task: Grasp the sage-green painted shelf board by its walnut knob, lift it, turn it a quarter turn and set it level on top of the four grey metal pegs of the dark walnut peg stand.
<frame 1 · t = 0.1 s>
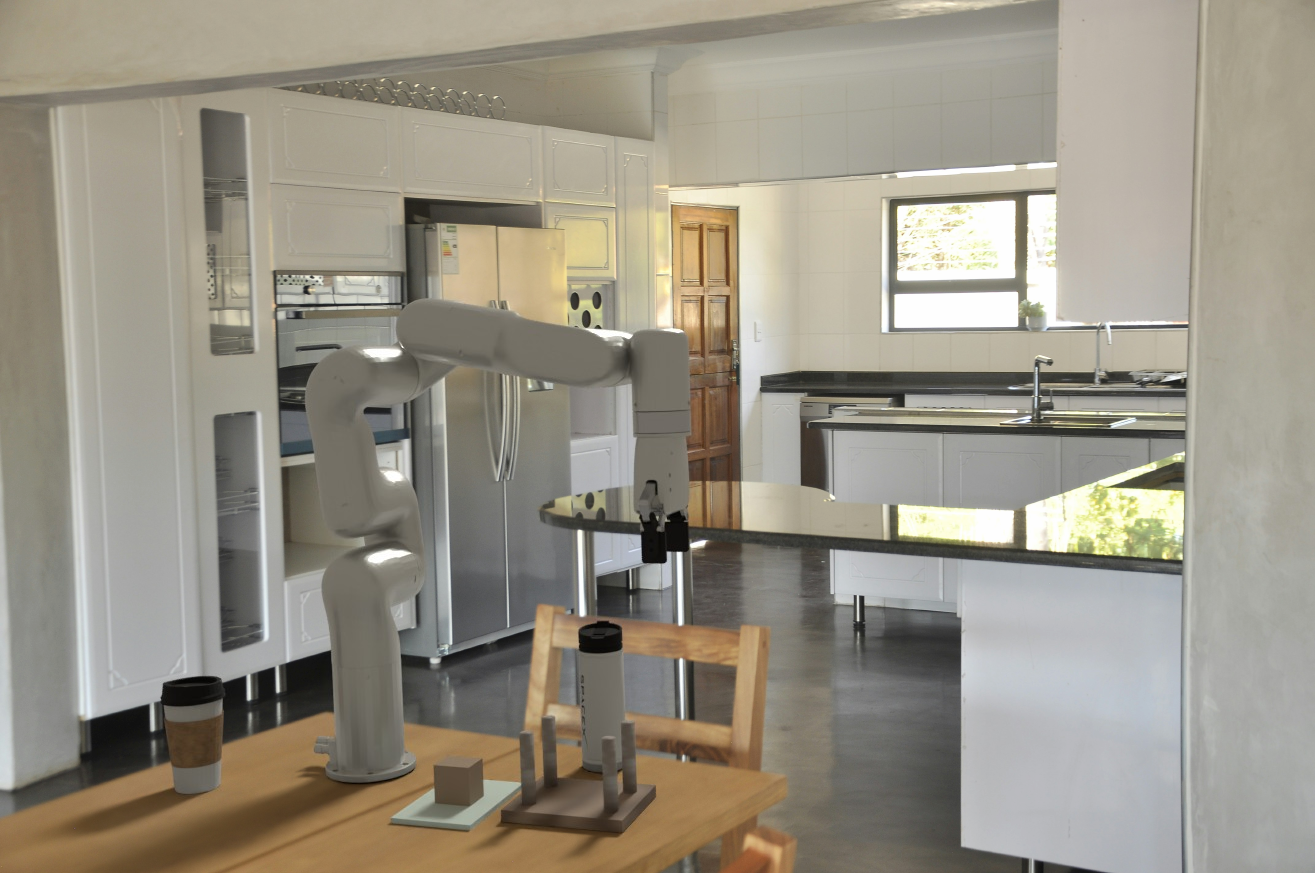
hand: (666, 557, 161), 31 cm above the table, tool pointing down, fingers open, 9 cm apart
coffee cup: (197, 788, 172), on the table
travel mug: (605, 766, 176), on the table
peg stand: (580, 808, 158), on the table
shelf board: (459, 808, 162), on the table
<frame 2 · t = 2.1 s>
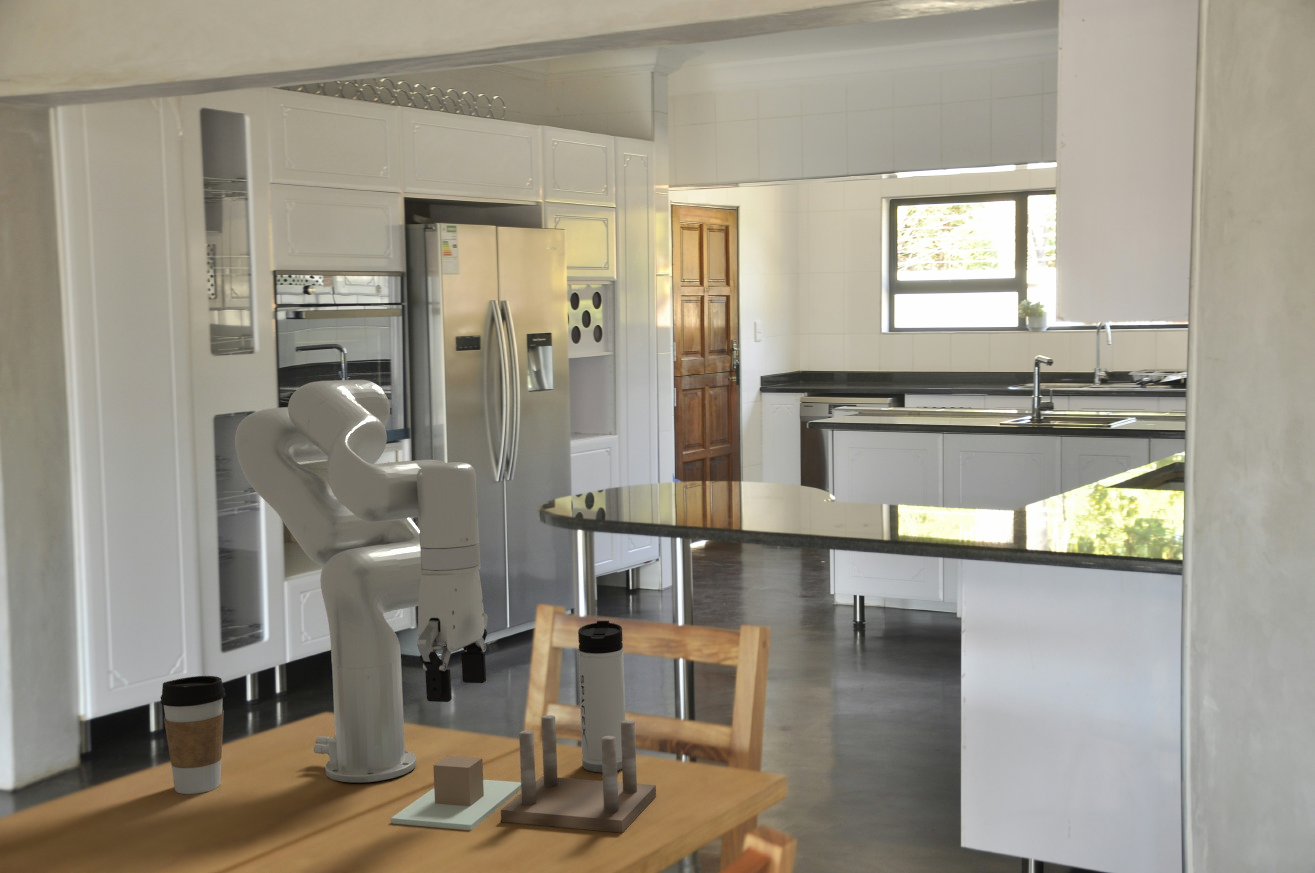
hand: (457, 691, 160), 15 cm above the table, tool pointing down, fingers open, 9 cm apart
nothing on the table moved.
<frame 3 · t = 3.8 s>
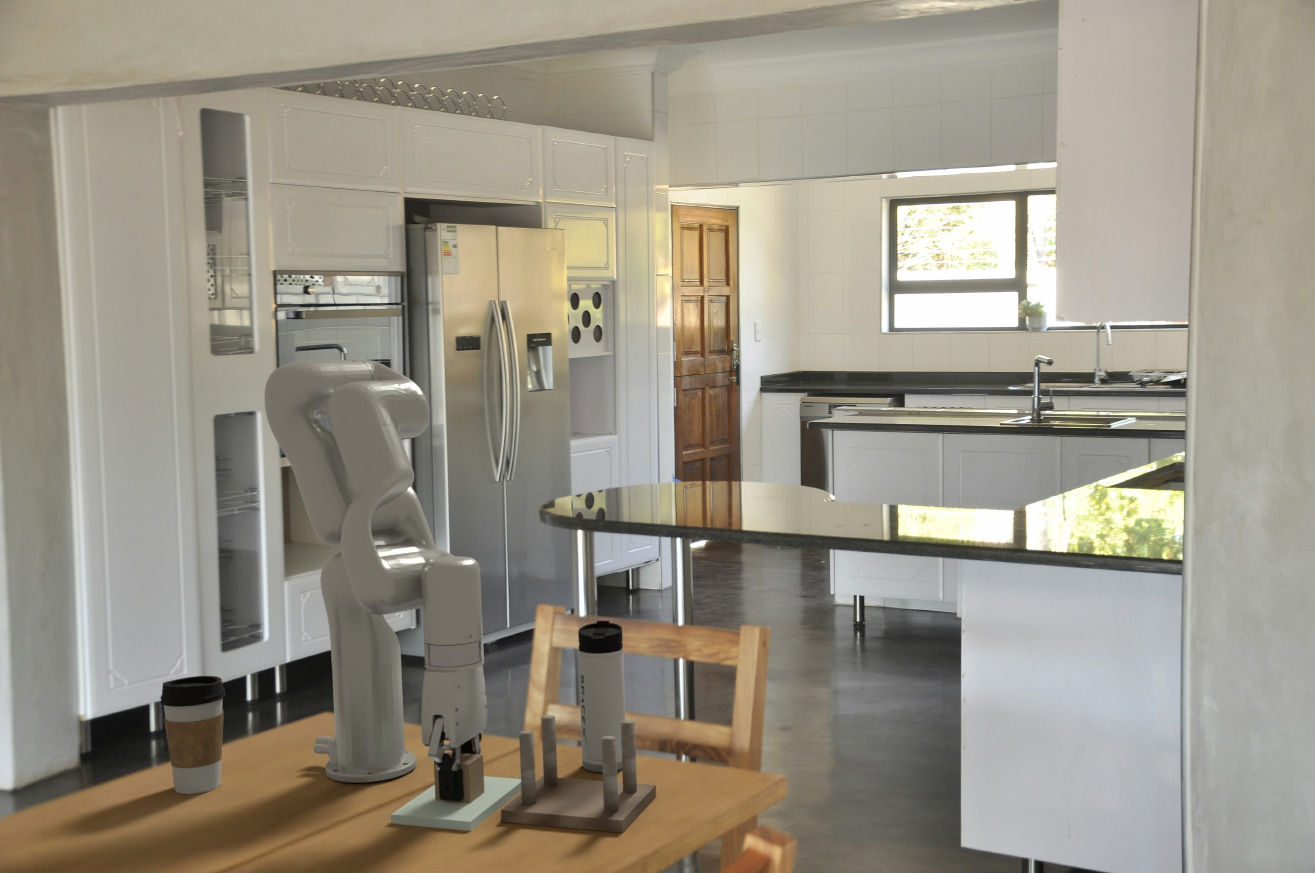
hand: (460, 791, 161), 2 cm above the table, tool pointing down, fingers closed on shelf board, 4 cm apart
shelf board: (460, 805, 161), on the table, touching gripper
everything else where it was.
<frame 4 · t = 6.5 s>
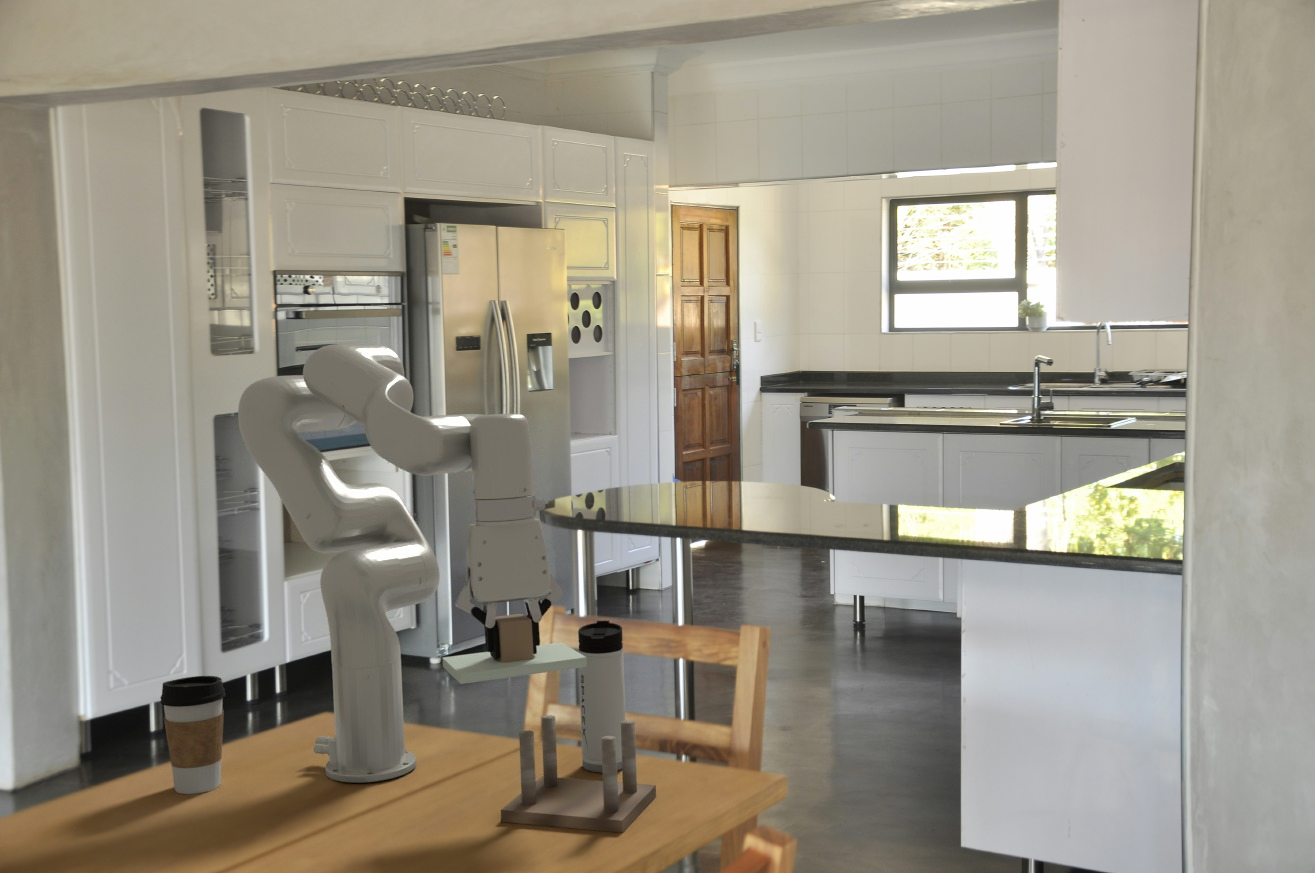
hand: (513, 653, 159), 20 cm above the table, tool pointing down, fingers closed on shelf board, 4 cm apart
shelf board: (513, 666, 159), point 18 cm above the table, touching gripper
everything else where it was.
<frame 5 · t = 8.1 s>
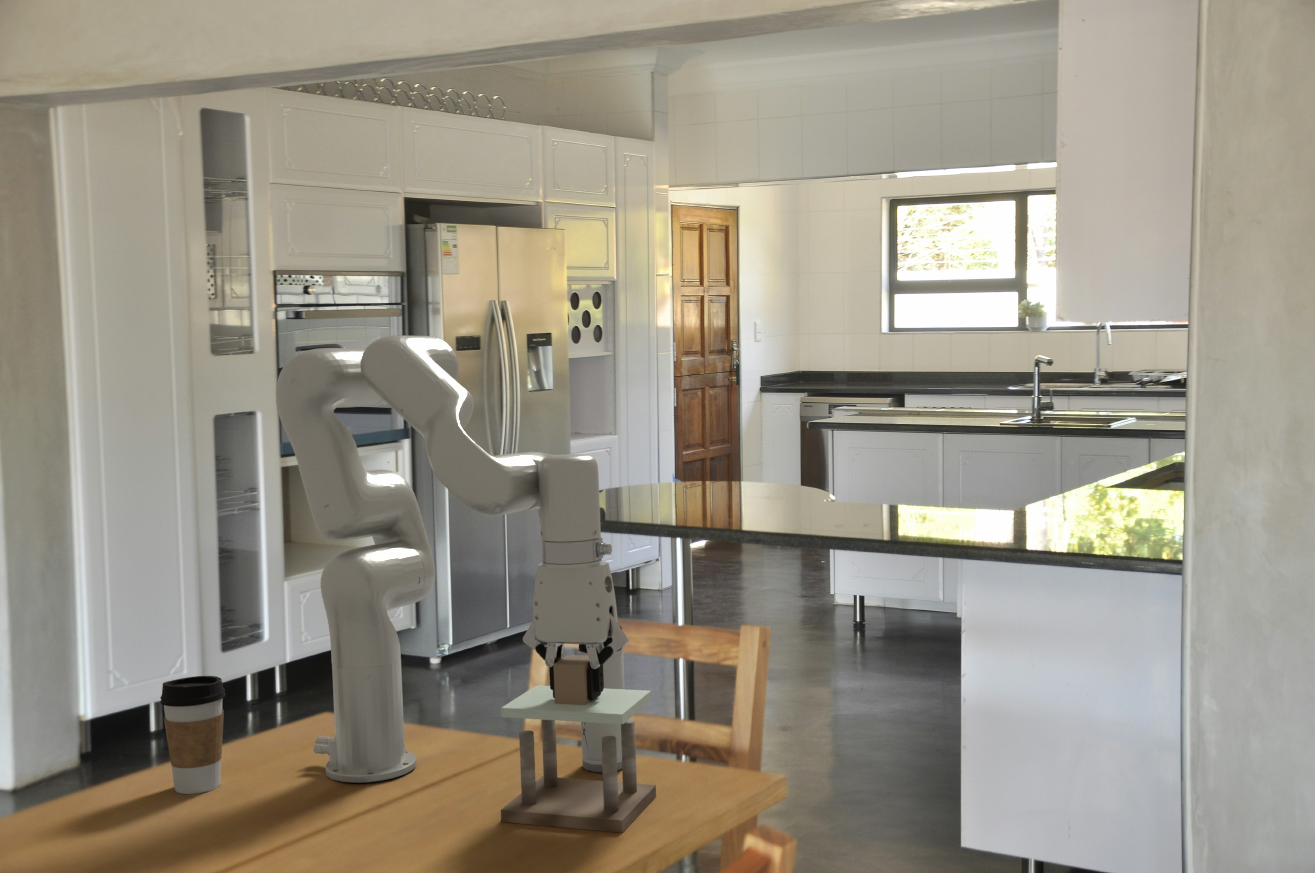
hand: (577, 695, 158), 15 cm above the table, tool pointing down, fingers closed on shelf board, 4 cm apart
shelf board: (577, 708, 158), point 13 cm above the table, touching gripper
everything else where it was.
when the fingers open (13 cm above the table, at t = 9.4 s): shelf board stays where it is, resting on peg stand.
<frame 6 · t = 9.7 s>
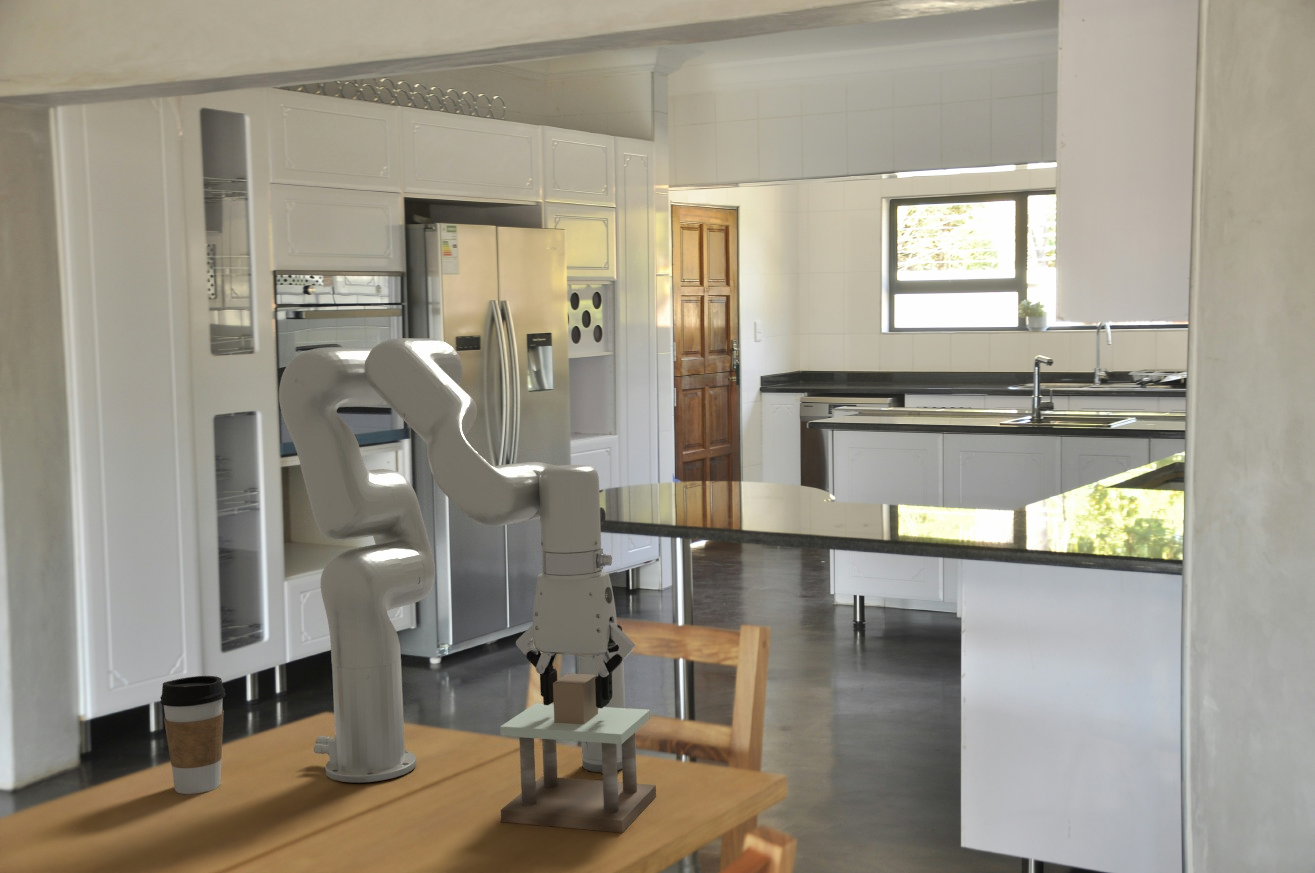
hand: (576, 702, 158), 14 cm above the table, tool pointing down, fingers open, 6 cm apart
shelf board: (576, 727, 158), point 10 cm above the table, touching peg stand
everything else where it was.
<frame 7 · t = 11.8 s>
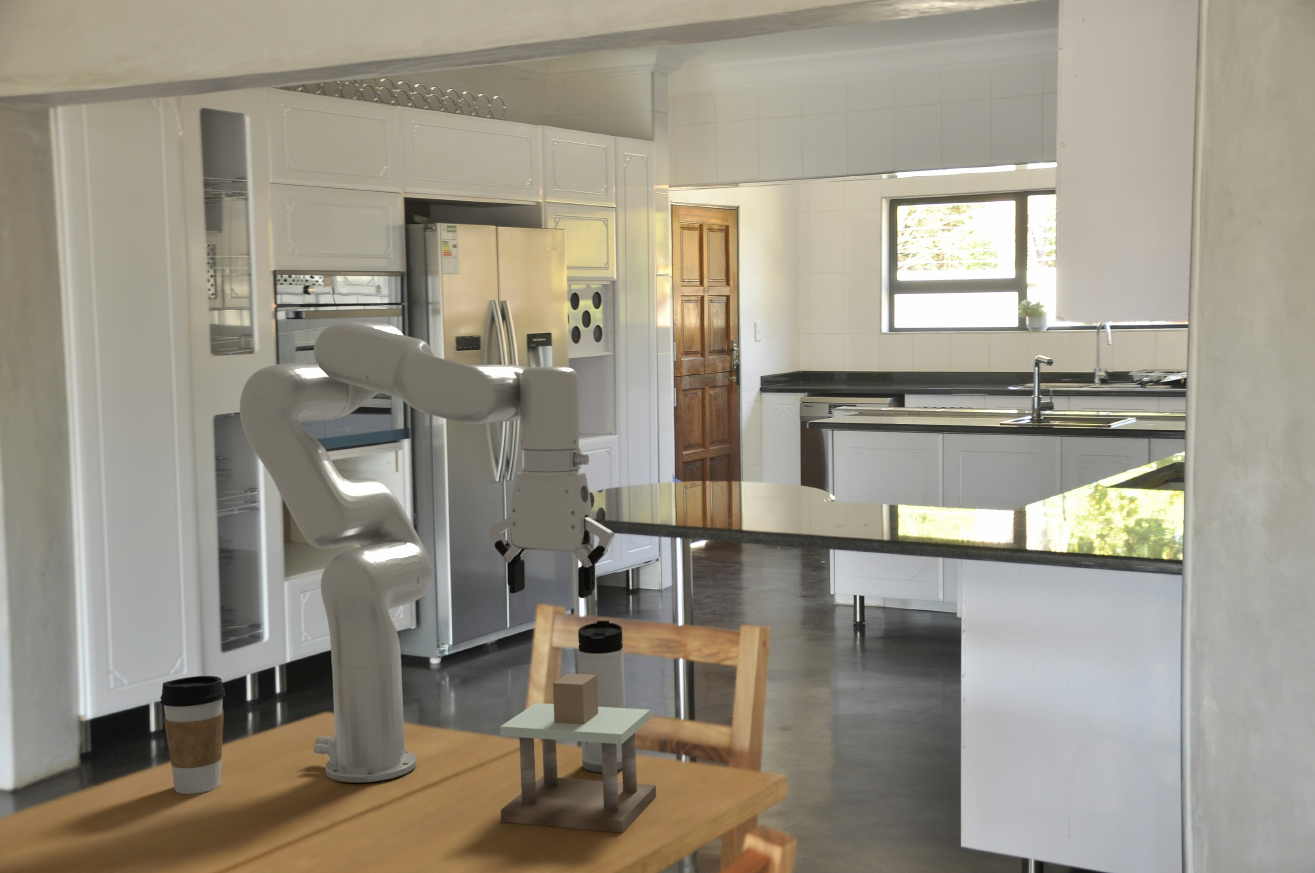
hand: (551, 593, 162), 27 cm above the table, tool pointing down, fingers open, 9 cm apart
nothing on the table moved.
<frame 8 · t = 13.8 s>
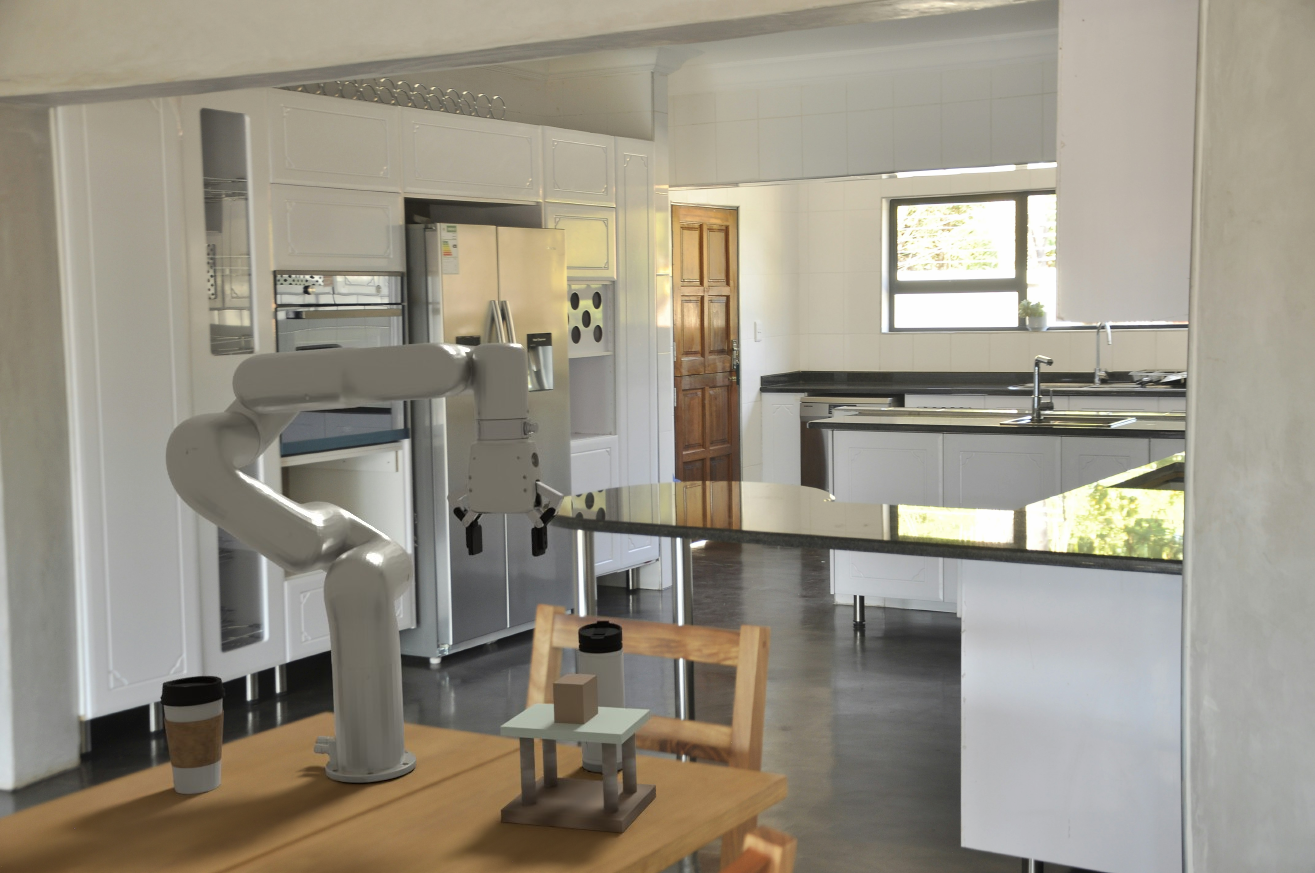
hand: (507, 554, 174), 30 cm above the table, tool pointing down, fingers open, 9 cm apart
nothing on the table moved.
at the end: shelf board 0.1 cm off-centre on the peg stand, point 10.5 cm above the peg stand's base; shelf board tilted 0°; the gripper is holding nothing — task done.
